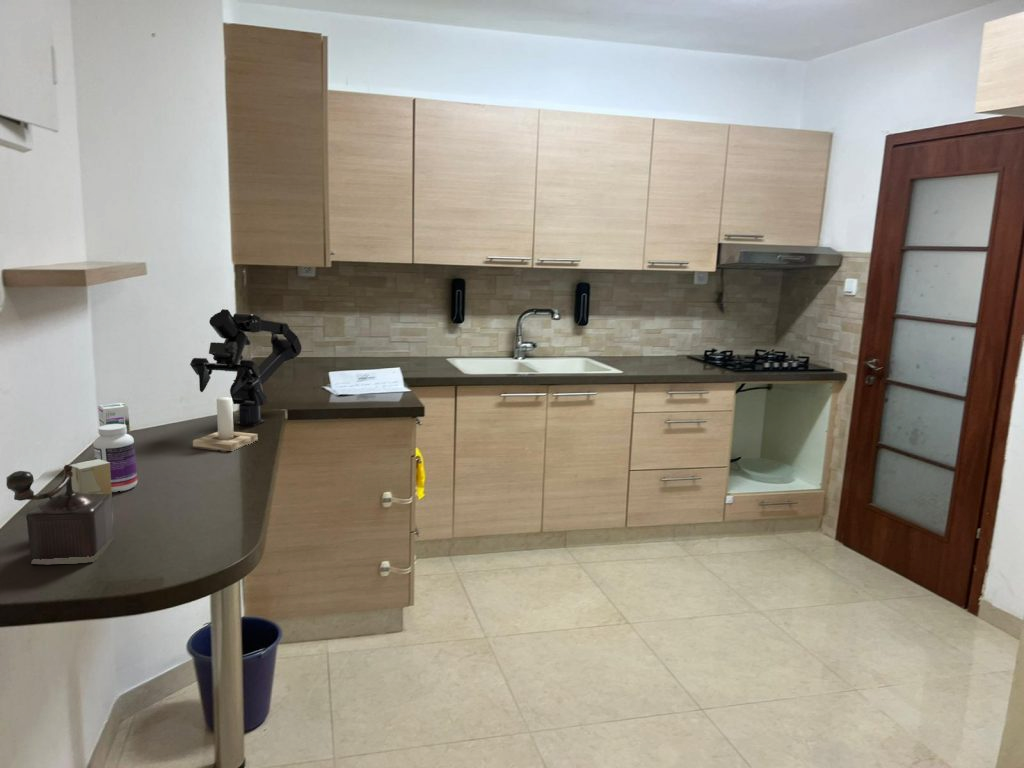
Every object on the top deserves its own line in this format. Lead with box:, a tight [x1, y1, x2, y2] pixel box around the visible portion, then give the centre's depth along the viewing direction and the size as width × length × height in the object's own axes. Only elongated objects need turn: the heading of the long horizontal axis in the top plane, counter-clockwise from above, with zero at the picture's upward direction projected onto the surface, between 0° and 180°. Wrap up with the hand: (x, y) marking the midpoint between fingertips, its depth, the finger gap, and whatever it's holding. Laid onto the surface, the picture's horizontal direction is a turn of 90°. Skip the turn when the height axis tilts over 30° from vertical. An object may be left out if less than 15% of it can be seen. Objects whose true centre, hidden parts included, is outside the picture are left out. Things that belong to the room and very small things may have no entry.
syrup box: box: [97, 402, 131, 435], centre depth 182 cm, size 6×6×14 cm
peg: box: [216, 396, 234, 441], centre depth 199 cm, size 4×4×12 cm
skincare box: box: [70, 459, 114, 518], centre depth 142 cm, size 6×4×12 cm
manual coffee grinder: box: [5, 463, 115, 561], centre depth 125 cm, size 16×11×18 cm
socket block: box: [192, 431, 259, 452], centre depth 200 cm, size 12×12×2 cm
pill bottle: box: [92, 424, 138, 493], centre depth 162 cm, size 8×8×14 cm
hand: (216, 392), depth 204 cm, fingers open, 9 cm apart
